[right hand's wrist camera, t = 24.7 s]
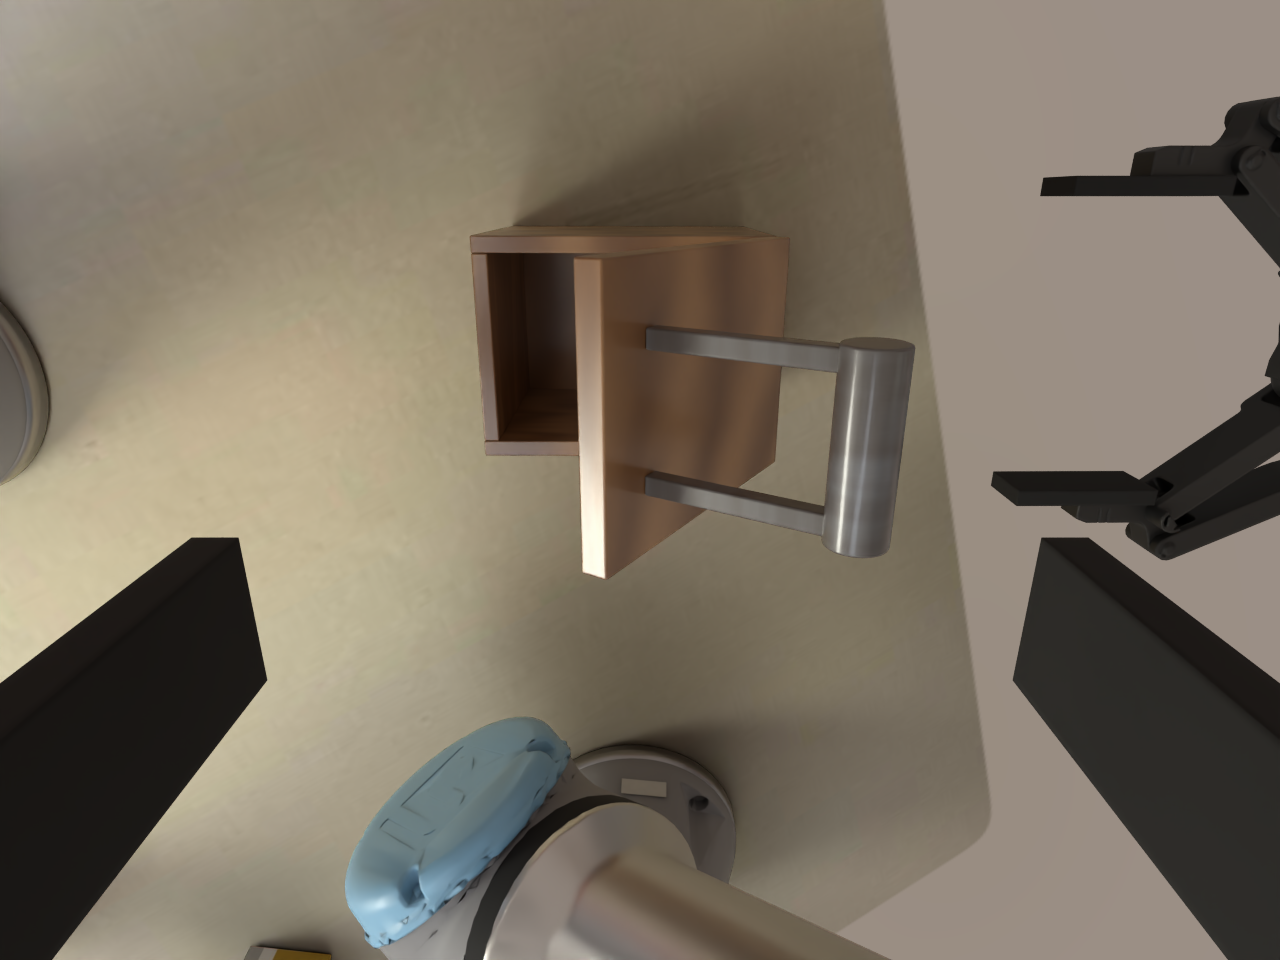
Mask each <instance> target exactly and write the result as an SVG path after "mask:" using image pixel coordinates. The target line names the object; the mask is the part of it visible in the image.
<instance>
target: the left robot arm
mask: <svg viewBox="0 0 1280 960" xmlns="http://www.w3.org/2000/svg"><path fill="white" fill-rule="evenodd" d="M1224 124H1225V127H1226V130H1225V131H1224V133H1223V135H1222V136H1221V138H1220V139H1219V140H1218V141H1217V142H1216V143H1214V144H1213V145H1211V146H1162V147H1152V148H1146V149H1144V150H1141V151H1139V152H1136V153H1135V154H1134V159H1133V163H1132V168H1131V173H1130V176H1066V177H1048V178H1043V183H1042V189H1041V195H1040V196H1219V197H1220V198H1221V199H1222V201H1223V202H1224V203H1225V204H1226V205H1227V206H1228V208H1229V209H1230V210H1231V211H1232V212H1233V214H1234V215H1235V216H1236V217H1237V218H1238V219H1239V221H1240V222H1241V223H1242V224H1243V225H1244V226H1245V228H1246V229H1247V230H1248V231H1249V232H1250V233H1251V235H1252V236H1253V237H1254V238H1255V239H1256V240H1257V242H1258V243H1259V244H1260V245H1261V246H1262V248H1263V249H1264V250H1265V251H1266V252H1267V253H1268V255H1269V256H1270V257H1271V258H1272V259H1273V260H1274V262H1275V263H1276V264H1277V265H1278V266H1279V268H1280V97H1274V98H1267V99H1261V100H1255V101H1249V102H1243V103H1238V104H1236V105H1234V106H1232V108H1231V109H1230V110H1229V111H1228V112H1227V114H1226V116H1225V122H1224ZM1278 275H1279V277H1280V271H1279V272H1278ZM1265 376H1267V377H1270V378H1271V383H1270V384H1269V385H1267V386H1266V387H1265V388H1263V389H1261V390H1260V391H1259V392H1257V393H1256V394H1254V395H1253V396H1251V397H1250V398H1248V399H1247V400H1245V401H1244V402H1243V403H1242V404H1241V411H1240V412H1239V413H1238V414H1236V415H1235V416H1233V417H1232V418H1230V419H1229V420H1227V421H1226V422H1224V423H1223V424H1221V425H1220V426H1218V427H1217V428H1215V429H1214V430H1212V431H1211V432H1209V433H1208V434H1206V435H1205V436H1203V437H1202V438H1200V439H1199V440H1197V441H1196V442H1195V443H1193V444H1192V445H1190V446H1189V447H1187V448H1186V449H1184V450H1183V451H1181V452H1180V453H1178V454H1177V455H1175V456H1174V457H1172V458H1171V459H1169V460H1168V461H1166V462H1165V463H1163V464H1162V465H1160V466H1159V467H1157V468H1156V469H1154V470H1153V471H1151V472H1150V473H1149V474H1147V475H1146V476H1144V477H1143V478H1141V479H1140V480H1138V479H1137V478H1135V477H1133V476H1131V475H1129V474H1128V473H1126V472H1124V471H1007V472H993V477H992V483H991V486H992V487H993V488H995V489H996V490H997V491H998V492H1000V493H1001V494H1002V495H1004V496H1005V497H1006V498H1007V499H1009V500H1010V501H1011V502H1012V503H1014V504H1015V505H1016V506H1061V508H1062V509H1063V510H1065V511H1066V512H1068V513H1069V514H1070V515H1072V516H1073V517H1075V518H1076V519H1078V520H1081V521H1083V522H1086V523H1097V522H1099V523H1104V522H1108V523H1114V522H1115V523H1117V522H1129V524H1128V525H1127V527H1126V535H1127V537H1128V538H1130V539H1131V540H1133V541H1134V542H1136V543H1137V544H1139V545H1140V546H1141V547H1143V548H1144V549H1146V550H1147V551H1149V552H1150V553H1152V554H1153V555H1155V556H1156V557H1158V558H1160V559H1161V560H1170V559H1173V558H1175V557H1178V556H1180V555H1183V554H1185V553H1187V552H1190V551H1192V550H1195V549H1197V548H1200V547H1202V546H1205V545H1207V544H1209V543H1212V542H1214V541H1217V540H1219V539H1222V538H1224V537H1227V536H1229V535H1232V534H1234V533H1236V532H1239V531H1241V530H1244V529H1246V528H1249V527H1251V526H1253V525H1256V524H1258V523H1261V522H1263V521H1266V520H1268V519H1271V518H1273V517H1276V516H1278V515H1280V460H1279V461H1275V462H1271V463H1269V464H1266V465H1263V466H1261V467H1258V468H1256V467H1257V466H1259V465H1261V464H1262V463H1263V462H1265V461H1267V460H1268V459H1270V458H1271V457H1273V456H1274V455H1276V454H1277V453H1279V452H1280V325H1279V343H1278V345H1277V347H1276V349H1275V351H1274V352H1273V354H1272V356H1271V358H1270V360H1269V363H1268V366H1267V370H1266V373H1265ZM1254 468H1256V469H1254ZM570 754H571V753H570V748H569V747H568V746H567V742H566V741H564V740H561V739H560V738H559V737H558V736H557V735H556V733H555V732H554V731H553V730H552V729H551V727H550V726H549V725H547V724H546V723H545V722H543V721H541V720H539V719H536V718H532V717H514V718H508V719H504V720H501V721H497V722H494V723H491V724H489V725H487V726H484V727H482V728H480V729H478V730H476V731H474V732H472V733H471V734H469V735H467V736H466V737H464V738H462V739H460V740H458V741H456V742H455V743H453V744H452V745H450V746H449V747H447V748H446V749H444V750H443V751H442V752H440V753H439V754H438V755H436V756H435V757H434V758H432V759H431V760H430V761H429V762H427V763H426V764H425V765H424V766H422V767H421V768H420V769H419V770H418V771H417V772H415V773H414V774H413V775H412V776H411V777H410V778H409V779H408V780H407V781H406V782H405V783H404V784H403V785H402V786H401V787H400V788H399V789H398V790H397V791H396V792H395V793H394V794H393V795H392V796H391V798H390V799H389V800H388V801H387V802H386V803H385V804H384V806H383V807H382V808H381V809H380V811H379V812H378V813H377V814H376V816H375V817H374V818H373V820H372V821H371V823H370V824H369V826H368V827H367V829H366V830H365V832H364V835H363V837H362V838H361V840H360V841H359V843H358V845H357V846H356V848H355V850H354V852H353V855H352V857H351V860H350V863H349V866H348V869H347V874H346V880H345V893H346V899H347V903H348V906H349V908H350V910H351V911H352V913H353V914H354V916H355V917H356V918H357V920H358V921H359V923H360V924H361V926H362V927H363V929H364V930H365V934H364V935H365V940H366V941H367V942H368V943H369V944H370V945H372V946H373V947H374V948H379V949H380V950H381V951H382V952H383V954H384V955H385V956H386V957H387V958H388V960H891V959H888V958H886V957H884V956H882V955H880V954H878V953H876V952H873V951H871V950H869V949H867V948H865V947H863V946H860V945H858V944H856V943H854V942H852V941H850V940H848V939H845V938H843V937H841V936H839V935H837V934H835V933H833V932H830V931H828V930H826V929H824V928H822V927H820V926H817V925H815V924H813V923H811V922H809V921H807V920H805V919H802V918H800V917H798V916H796V915H794V914H792V913H789V912H787V911H785V910H783V909H781V908H779V907H777V906H774V905H772V904H770V903H768V902H766V901H764V900H761V899H759V898H757V897H755V896H753V895H751V894H749V893H746V892H744V891H742V890H740V889H738V888H736V887H733V886H731V885H729V884H728V883H729V879H730V875H731V871H732V867H733V863H734V858H735V849H736V831H735V823H734V817H733V811H732V807H731V804H730V801H729V799H728V797H727V795H726V793H725V791H724V789H723V788H722V786H721V785H720V784H719V782H718V781H717V780H716V779H715V778H714V777H713V776H712V775H711V774H710V773H709V772H708V771H707V770H706V769H704V768H703V767H702V766H700V765H699V764H697V763H696V762H694V761H692V760H691V759H689V758H687V757H685V756H683V755H680V754H678V753H675V752H672V751H669V750H665V749H662V748H657V747H651V746H643V745H622V746H614V747H608V748H603V749H599V750H596V751H592V752H590V753H587V754H584V755H582V756H580V757H578V758H576V759H574V760H572V758H571V756H570Z"/></svg>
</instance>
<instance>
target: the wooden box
mask: <svg viewBox="0 0 1280 960" xmlns="http://www.w3.org/2000/svg"><path fill="white" fill-rule="evenodd" d="M761 237H776V236H773V235H770V234H767V233H763V232H760V231H756V230H753V229H750V228H746V227H719V226H510V227H506V228H501V229H497V230H493V231H488V232H484V233H480V234H475V235H471V236H470V246H471V252H472V254H471V258H472V272H473V286H474V300H475V314H476V327H477V341H478V355H479V369H480V383H481V396H482V410H483V424H484V438H485V454H486V455H556V456H579V439H578V403H577V366H576V330H575V293H574V258H575V257H577V256H586V255H596V254H606V253H615V252H625V251H635V250H645V249H654V248H664V247H674V246H683V245H693V244H703V243H713V242H722V241H732V240H742V239H751V238H761Z"/></svg>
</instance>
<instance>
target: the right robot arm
mask: <svg viewBox="0 0 1280 960" xmlns="http://www.w3.org/2000/svg"><path fill="white" fill-rule="evenodd" d="M48 411H49V409H48V393H47V386H46V382H45V378H44V374H43V371H42V368H41V365H40V362H39V359H38V357H37V355H36V353H35V350H34V348H33V346H32V345H31V343H30V341H29V339H28V337H27V336H26V334H25V332H24V331H23V329H22V328H21V326H20V325H19V323H18V322H17V321H16V319H15V318H14V317H13V315H12V314H11V313H10V312H9V311H8V309H7V308H6V307H5V306H4V305H3V304H2V303H1V302H0V485H2V484H4V483H6V482H8V481H10V480H11V479H13V478H14V477H16V476H17V475H18V474H20V473H21V472H22V471H23V470H24V469H25V468H26V467H27V466H28V465H29V463H30V462H31V461H32V460H33V458H34V457H35V455H36V454H37V452H38V450H39V448H40V446H41V444H42V441H43V438H44V435H45V432H46V427H47V422H48ZM266 681H267V676H266V671H265V666H264V661H263V657H262V652H261V647H260V642H259V637H258V632H257V627H256V622H255V617H254V612H253V607H252V602H251V597H250V592H249V587H248V582H247V577H246V572H245V568H244V563H243V558H242V553H241V548H240V543H239V538H190V539H189V540H188V541H187V542H185V543H184V544H183V545H181V546H180V547H179V548H177V549H176V550H175V551H173V552H172V553H171V554H169V555H168V556H167V557H166V558H164V559H163V560H162V561H160V562H159V563H158V564H156V565H155V566H154V567H152V568H151V569H150V570H148V571H147V572H146V573H144V574H143V575H142V576H141V577H139V578H138V579H137V580H135V581H134V582H133V583H131V584H130V585H129V586H127V587H126V588H125V589H123V590H122V591H121V592H120V593H118V594H117V595H116V596H114V597H113V598H112V599H110V600H109V601H108V602H106V603H105V604H104V605H102V606H101V607H100V608H99V609H97V610H96V611H95V612H93V613H92V614H91V615H89V616H88V617H87V618H85V619H84V620H83V621H81V622H80V623H79V624H78V625H76V626H75V627H74V628H72V629H71V630H70V631H68V632H67V633H66V634H64V635H63V636H62V637H60V638H59V639H58V640H56V641H55V642H54V643H53V644H51V645H50V646H49V647H47V648H46V649H45V650H43V651H42V652H41V653H39V654H38V655H37V656H35V657H34V658H33V659H32V660H30V661H29V662H28V663H26V664H25V665H24V666H22V667H21V668H20V669H18V670H17V671H16V672H14V673H13V674H12V675H11V676H9V677H8V678H7V679H5V680H4V681H3V682H1V683H0V960H52V959H53V958H54V957H55V955H56V954H57V953H58V951H59V950H60V949H61V947H62V946H63V945H64V944H65V942H66V941H67V940H68V938H69V937H70V936H71V934H72V933H73V932H74V931H75V929H76V928H77V927H78V925H79V924H80V923H81V921H82V920H83V919H84V918H85V916H86V915H87V914H88V912H89V911H90V910H91V908H92V907H93V906H94V905H95V903H96V902H97V901H98V899H99V898H100V897H101V896H102V894H103V893H104V892H105V890H106V889H107V888H108V886H109V885H110V884H111V883H112V881H113V880H114V879H115V877H116V876H117V875H118V873H119V872H120V871H121V870H122V868H123V867H124V866H125V864H126V863H127V862H128V860H129V859H130V858H131V857H132V855H133V854H134V853H135V851H136V850H137V849H138V847H139V846H140V845H141V844H142V842H143V841H144V840H145V838H146V837H147V836H148V834H149V833H150V832H151V831H152V829H153V828H154V827H155V825H156V824H157V823H158V821H159V820H160V819H161V818H162V816H163V815H164V814H165V812H166V811H167V810H168V809H169V807H170V806H171V805H172V803H173V802H174V801H175V799H176V798H177V797H178V796H179V794H180V793H181V792H182V790H183V789H184V788H185V786H186V785H187V784H188V783H189V781H190V780H191V779H192V777H193V776H194V775H195V773H196V772H197V771H198V770H199V768H200V767H201V766H202V764H203V763H204V762H205V760H206V759H207V758H208V757H209V755H210V754H211V753H212V751H213V750H214V749H215V747H216V746H217V745H218V744H219V742H220V741H221V740H222V738H223V737H224V736H225V734H226V733H227V732H228V731H229V729H230V728H231V727H232V725H233V724H234V723H235V722H236V720H237V719H238V718H239V716H240V715H241V714H242V712H243V711H244V710H245V709H246V707H247V706H248V705H249V703H250V702H251V701H252V699H253V698H254V697H255V696H256V694H257V693H258V692H259V690H260V689H261V688H262V686H263V685H264V684H265V683H266ZM1013 681H1014V683H1015V684H1016V685H1017V686H1018V688H1019V689H1020V690H1021V692H1022V693H1023V694H1024V696H1025V697H1026V698H1027V699H1028V701H1029V702H1030V703H1031V705H1032V706H1033V707H1034V708H1035V710H1036V711H1037V712H1038V714H1039V715H1040V716H1041V718H1042V719H1043V720H1044V721H1045V723H1046V724H1047V725H1048V727H1049V728H1050V729H1051V731H1052V732H1053V733H1054V734H1055V736H1056V737H1057V738H1058V740H1059V741H1060V742H1061V744H1062V745H1063V746H1064V747H1065V749H1066V750H1067V751H1068V753H1069V754H1070V755H1071V757H1072V758H1073V759H1074V760H1075V762H1076V763H1077V764H1078V766H1079V767H1080V768H1081V770H1082V771H1083V772H1084V773H1085V775H1086V776H1087V777H1088V779H1089V780H1090V781H1091V783H1092V784H1093V785H1094V786H1095V788H1096V789H1097V790H1098V792H1099V793H1100V794H1101V796H1102V797H1103V798H1104V799H1105V801H1106V802H1107V803H1108V805H1109V806H1110V807H1111V808H1112V810H1113V811H1114V812H1115V814H1116V815H1117V816H1118V818H1119V819H1120V820H1121V821H1122V823H1123V824H1124V825H1125V827H1126V828H1127V829H1128V831H1129V832H1130V833H1131V834H1132V836H1133V837H1134V838H1135V840H1136V841H1137V842H1138V844H1139V845H1140V846H1141V847H1142V849H1143V850H1144V851H1145V853H1146V854H1147V855H1148V857H1149V858H1150V859H1151V860H1152V862H1153V863H1154V864H1155V866H1156V867H1157V868H1158V870H1159V871H1160V872H1161V873H1162V875H1163V876H1164V877H1165V879H1166V880H1167V881H1168V883H1169V884H1170V885H1171V886H1172V888H1173V889H1174V890H1175V892H1176V893H1177V894H1178V896H1179V897H1180V898H1181V899H1182V901H1183V902H1184V903H1185V905H1186V906H1187V907H1188V908H1189V910H1190V911H1191V912H1192V914H1193V915H1194V916H1195V918H1196V919H1197V920H1198V921H1199V923H1200V924H1201V925H1202V927H1203V928H1204V929H1205V931H1206V932H1207V933H1208V934H1209V936H1210V937H1211V938H1212V940H1213V941H1214V942H1215V944H1216V945H1217V946H1218V947H1219V949H1220V950H1221V951H1222V953H1223V954H1224V955H1225V957H1226V958H1227V959H1228V960H1280V683H1279V682H1277V681H1276V680H1275V679H1273V678H1272V677H1271V676H1269V675H1268V674H1267V673H1266V672H1264V671H1263V670H1262V669H1260V668H1259V667H1258V666H1256V665H1255V664H1254V663H1252V662H1251V661H1250V660H1248V659H1247V658H1246V657H1245V656H1243V655H1242V654H1241V653H1239V652H1238V651H1237V650H1235V649H1234V648H1233V647H1231V646H1230V645H1229V644H1227V643H1226V642H1225V641H1223V640H1222V639H1221V638H1220V637H1218V636H1217V635H1216V634H1214V633H1213V632H1212V631H1210V630H1209V629H1208V628H1206V627H1205V626H1204V625H1202V624H1201V623H1200V622H1199V621H1197V620H1196V619H1195V618H1193V617H1192V616H1191V615H1189V614H1188V613H1187V612H1185V611H1184V610H1183V609H1181V608H1180V607H1179V606H1178V605H1176V604H1175V603H1174V602H1172V601H1171V600H1170V599H1168V598H1167V597H1166V596H1164V595H1163V594H1162V593H1160V592H1159V591H1158V590H1156V589H1155V588H1154V587H1153V586H1151V585H1150V584H1149V583H1147V582H1146V581H1145V580H1143V579H1142V578H1141V577H1139V576H1138V575H1137V574H1135V573H1134V572H1133V571H1132V570H1130V569H1129V568H1128V567H1126V566H1125V565H1124V564H1122V563H1121V562H1120V561H1118V560H1117V559H1116V558H1114V557H1113V556H1112V555H1111V554H1109V553H1108V552H1107V551H1105V550H1104V549H1103V548H1101V547H1100V546H1099V545H1097V544H1096V543H1095V542H1093V541H1092V540H1091V539H1089V538H1041V543H1040V548H1039V553H1038V558H1037V563H1036V568H1035V572H1034V577H1033V582H1032V587H1031V592H1030V597H1029V602H1028V607H1027V612H1026V617H1025V622H1024V627H1023V632H1022V637H1021V642H1020V647H1019V652H1018V657H1017V661H1016V667H1015V671H1014V676H1013Z"/></svg>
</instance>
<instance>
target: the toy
mask: <svg viewBox="0 0 1280 960" xmlns="http://www.w3.org/2000/svg"><path fill="white" fill-rule="evenodd" d="M244 960H331V955H329V954H320V953H311V952H301V951H292V950H283V949H274V948H265V947H256V946H251V947H250V949H249V951H248V953H247V954H246V956H245V958H244Z"/></svg>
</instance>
